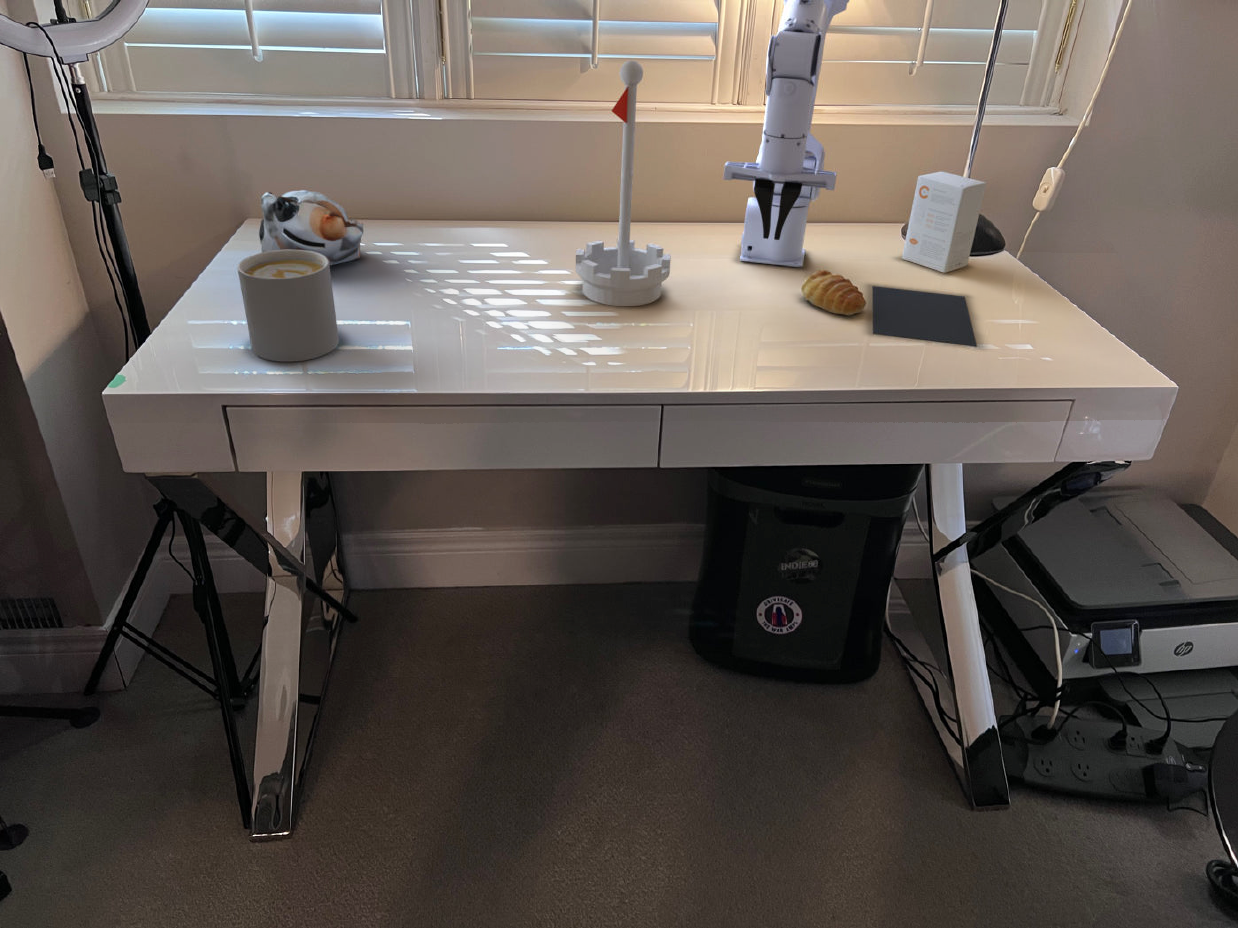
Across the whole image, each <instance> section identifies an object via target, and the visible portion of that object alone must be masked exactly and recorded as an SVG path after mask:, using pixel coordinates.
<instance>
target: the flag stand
mask: <svg viewBox="0 0 1238 928" xmlns="http://www.w3.org/2000/svg"><path fill="white" fill-rule="evenodd" d="M619 78H620V80H621V82H622V83H623V84H624V91H623V93H622V94H621V96H620V97H619V98H618V100H617V102H616V103H615V105H614V106H613V107H612V109H611V112H612V113H613V114H614V115H615V116H616V117H618V118H619V119H620V120H621V121H622V122H623V123H622V147H621V166H620V167H621V171H620V173H621V174H620V193H619V196H620V197H619V221H618V238H617V239H616V246H606V247H605V246H604V244H605V242H603V241H602V240H595V241H594V240H593V241H590V242H587V243H586V244H585V249H583V248H576V251H575V273H576V275H578V277H580V278H581V279H582V293H583V295H584V296H585V297H586V298H587V299H590V300H591V301H593V302H596V303H599V304H603V305H606V306H607V305H608V306H613V307H614V306H615V307H636V306H643V305H648V304H650V303H654V302H655V301H657V300H658V299H659V298H660V296H661V295H662V283H663V282H665V281H666V280H667V279H668V278H669V277H670V274H671V273H670V272H671V262H672V261H671V260H672V256H671V254H670V253H664V247H662V246H660V245H657V244H654V243H648V244H646V247H645V248H646V249H643V248H636V246H635V243H636V242H635V241H636V240H635V239H631V222H632V221H631V220H632V199H633V198H632V197H633V179H634V177H633V175H634V156H635V135H636V134H635V133H636V113H637V112H636V111H637V93H638V91H637V90H638V84H640V82H642V80H643V78H644V70H643V66H642V65H641V64H640V62H638V61H636V60H627V61H625V62H624V63H623V64H622V65H621V67H620V69H619Z"/></svg>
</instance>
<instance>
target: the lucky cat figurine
mask: <svg viewBox="0 0 1238 928" xmlns="http://www.w3.org/2000/svg"><path fill="white" fill-rule="evenodd" d="M260 210H261V211H262V216H263V218H262V219H261V221H260V225H259V231H258V235H259V236H258V237H259V242H260V246H261V253H263V252H268V251H275V250H306V251H313V252H316V253H320V254H322V255H324V256H325V257H326V258H327V259H328V261H329V266H334V265H338V264H342V263H346V262H350V261H354V260H355V261H356V260H359V259H360V258H361V242H362V237H363V235H364V223H360V222H359V221H358V220H357V219H349V217H348V213H347V211H346V210H345V208H344V207H343V206H342V205H341V204H339V203H338V202H337V201H335V200H333V199H329V198H328V196H326V195H324V194H322V193H320V192H318V191H309V190H306V189H303V190H292V191H287V192H285V193H283V194H282V195H279V196H276V195H274V194H273V192H272V191H267V192H265V193H264V194H263V195H261V196H260Z"/></svg>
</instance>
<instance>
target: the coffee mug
mask: <svg viewBox="0 0 1238 928" xmlns="http://www.w3.org/2000/svg"><path fill="white" fill-rule="evenodd" d="M330 266H331V265H330ZM330 266H329V261H328V259H327V258H326V257H325V256H324V255H322V254H320V253H316V252H313V251H306V250H275V251H268V252H263V253H262V252H259V253H256V254H253V255H250V256H247V257H246V258H245V257H244V258H243V259H242V260H241V261H240V262H239V263H238V264H237V275H238V280H239V284H240V285H239V286H240V290H241V296H242V302H243V307H244V313H245V319H246V324H247V329H248V334H249V340H250V345H251V351H252V352H253V353H254V355H256V356H257V357H259V358H261V359H263V360H267V361H273V362H279V363H281V362H282V363H283V362H284V363H291V362H293V363H294V362H305V361H308V360H314V359H317V358H321V357H322V356H325V355H328V354H329V353H331V352H333V351H334V350H335V349H336V348H337V347H338V345H339V343H340V338H339V330H338V322H337V314H336V306H335V299H334V291H333V290H334V289H333V283H332V275H331V268H330Z"/></svg>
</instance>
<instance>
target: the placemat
mask: <svg viewBox="0 0 1238 928" xmlns="http://www.w3.org/2000/svg"><path fill="white" fill-rule="evenodd" d="M872 335H877V336H878V335H879V336H887V337H895V338H901V339H903V338H904V339H912V340H919V341H927V342H935V343H944V344H951V345H952V344H953V345H959V346H967V347H978V345H977V342H976V341H977V340H976V337H975V333H974V329H973V325H972V321H971V317H970V312H969V307H968V304H967V300H966V296H965V295H953V294H945V293H938V292H929V291H920V290H913V289H912V290H911V289H904V288H903V289H902V288H895V287H885V286H877V285H876V286H875V285H872Z"/></svg>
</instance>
